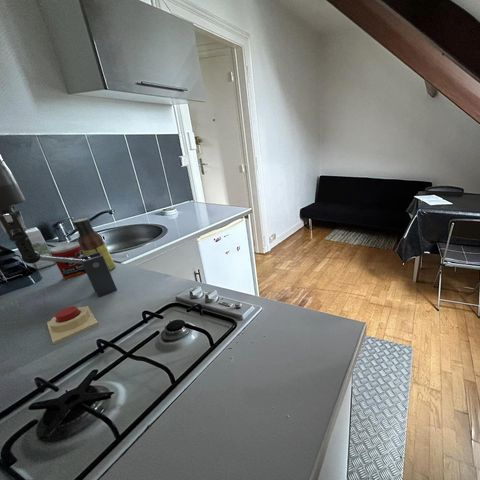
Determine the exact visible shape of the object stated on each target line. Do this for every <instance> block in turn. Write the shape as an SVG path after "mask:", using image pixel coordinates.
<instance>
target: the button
mask: <svg viewBox="0 0 480 480" xmlns="http://www.w3.org/2000/svg"><path fill="white" fill-rule="evenodd" d="M79 314H80V312H79V310H78V307H77V306H73V305H72V306H68V307H65V308H62V309H61V310H58V312H56V313H55V314H54V317H56V319H57V321H58V322H59V323H62V322H66V321H69V320H71V319H74V318H75V317H77V316H78V315H79Z"/></svg>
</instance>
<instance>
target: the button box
mask: <svg viewBox="0 0 480 480" xmlns="http://www.w3.org/2000/svg"><path fill="white" fill-rule="evenodd" d="M77 308H78V310H79V312H80V314H79V315H78V316H77V317H75V318H74V319H71V320H69V321H66V322H62V323H59V322H58V321H57V319H56V317H55V316H53V317H52V318H51V319H50V320H48V321H46V324H47V325H46V326H47V329H48V331H49V336H50V338H51V342H52V344H53V345H58V344H59V343H61V342H64V341H66V340H68V339H70V338H72V337H75V336H77V335H80V334H82V333H83V332H86V331H88V330H90V329H92V328H95V327H97V326H99V325H100V324H99V321H98V320H97V319H96V317H95V316H94V313H93V312H92V310H91V308H90V307H89V306H88V305H86V306H84V307H83V306H78V307H77Z"/></svg>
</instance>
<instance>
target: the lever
mask: <svg viewBox="0 0 480 480" xmlns="http://www.w3.org/2000/svg"><path fill="white" fill-rule="evenodd" d="M91 258H94V257H87V259H91ZM21 260H22V262H23V263H26V264H30V265H32V264H33V263H36V262H38V261H39V260H43V261H56V262H69V263H81V264H83V262H82V261H84V260H86V259H75V258H63V257H52V256H41V255H40V254H39V253H38V252H36V251H35V254H33V255H30V256H26V257H23V256H22V255H21Z"/></svg>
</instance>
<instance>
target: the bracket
mask: <svg viewBox="0 0 480 480" xmlns="http://www.w3.org/2000/svg"><path fill="white" fill-rule="evenodd" d="M87 257H94V258H91V259H87ZM79 258H80V259H86V260H84V261H82V262H83V264H82V265H83V267H84V269H85V271H86V276H87V278H88V279H89V282H90V284H91V286H92V288H93V290H94V292H95V293H96V294H97V297H98V298H101V297H104V296H106V295H109V294H112V293H114V292H116V291H118V288H117V286H116V284H115V281H114V279H113V277H112V274H111V271H109V269H108V267H107V265H106V262H105V260H104V258H103V256H102V255H100V253H99V252H96V253H93V254H89V255H86V256H82V257H79Z"/></svg>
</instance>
